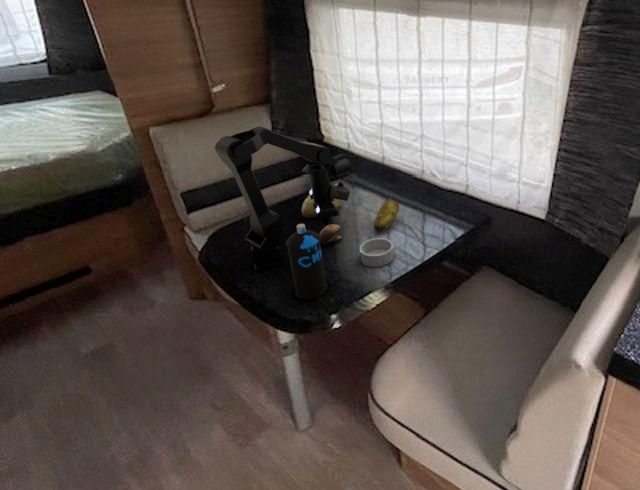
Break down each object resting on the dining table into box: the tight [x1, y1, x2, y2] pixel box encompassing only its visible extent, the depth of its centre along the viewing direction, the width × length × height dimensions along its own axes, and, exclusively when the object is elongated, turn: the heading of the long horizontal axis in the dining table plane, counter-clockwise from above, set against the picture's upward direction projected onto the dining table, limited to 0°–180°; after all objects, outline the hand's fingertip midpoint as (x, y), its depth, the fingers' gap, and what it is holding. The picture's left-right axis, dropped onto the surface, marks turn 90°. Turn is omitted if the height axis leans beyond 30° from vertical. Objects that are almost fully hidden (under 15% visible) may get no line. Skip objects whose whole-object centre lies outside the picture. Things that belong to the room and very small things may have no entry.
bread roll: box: [301, 194, 342, 219], centre depth 152 cm, size 10×15×8 cm, turn 141°
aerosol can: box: [285, 223, 328, 300], centre depth 109 cm, size 8×8×20 cm
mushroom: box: [318, 223, 343, 245], centre depth 135 cm, size 8×8×6 cm
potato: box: [373, 199, 400, 233], centre depth 144 cm, size 8×13×8 cm, turn 149°
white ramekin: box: [358, 237, 395, 268], centre depth 127 cm, size 10×10×4 cm
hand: (326, 224), depth 139 cm, fingers closed
